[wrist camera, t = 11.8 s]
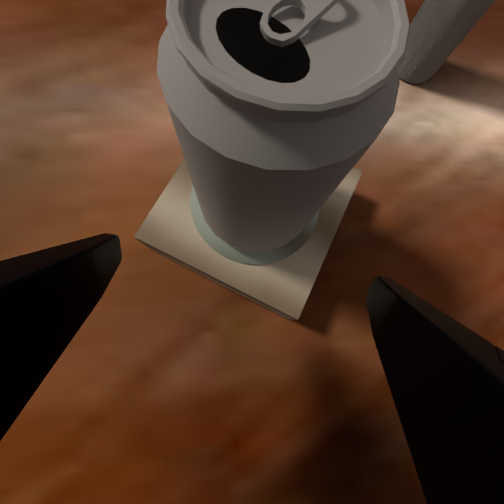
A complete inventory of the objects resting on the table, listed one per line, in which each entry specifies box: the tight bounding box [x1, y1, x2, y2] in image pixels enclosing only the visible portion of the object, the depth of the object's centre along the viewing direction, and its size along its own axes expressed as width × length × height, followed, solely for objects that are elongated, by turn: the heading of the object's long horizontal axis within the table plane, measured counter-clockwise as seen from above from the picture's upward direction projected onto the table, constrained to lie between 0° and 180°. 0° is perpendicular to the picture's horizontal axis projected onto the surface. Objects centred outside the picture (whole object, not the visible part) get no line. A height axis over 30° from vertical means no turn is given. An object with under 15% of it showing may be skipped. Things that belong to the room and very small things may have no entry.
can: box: [157, 0, 411, 251], centre depth 12 cm, size 8×8×12 cm
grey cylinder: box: [397, 0, 495, 84], centre depth 21 cm, size 4×4×10 cm
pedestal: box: [134, 159, 362, 320], centre depth 19 cm, size 12×12×3 cm
